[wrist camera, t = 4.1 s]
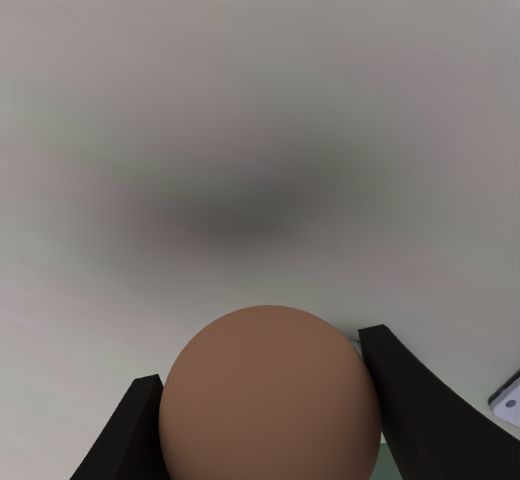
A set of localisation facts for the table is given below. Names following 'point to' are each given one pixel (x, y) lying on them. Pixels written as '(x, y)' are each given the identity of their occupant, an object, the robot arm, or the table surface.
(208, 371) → the ball
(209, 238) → the table surface
